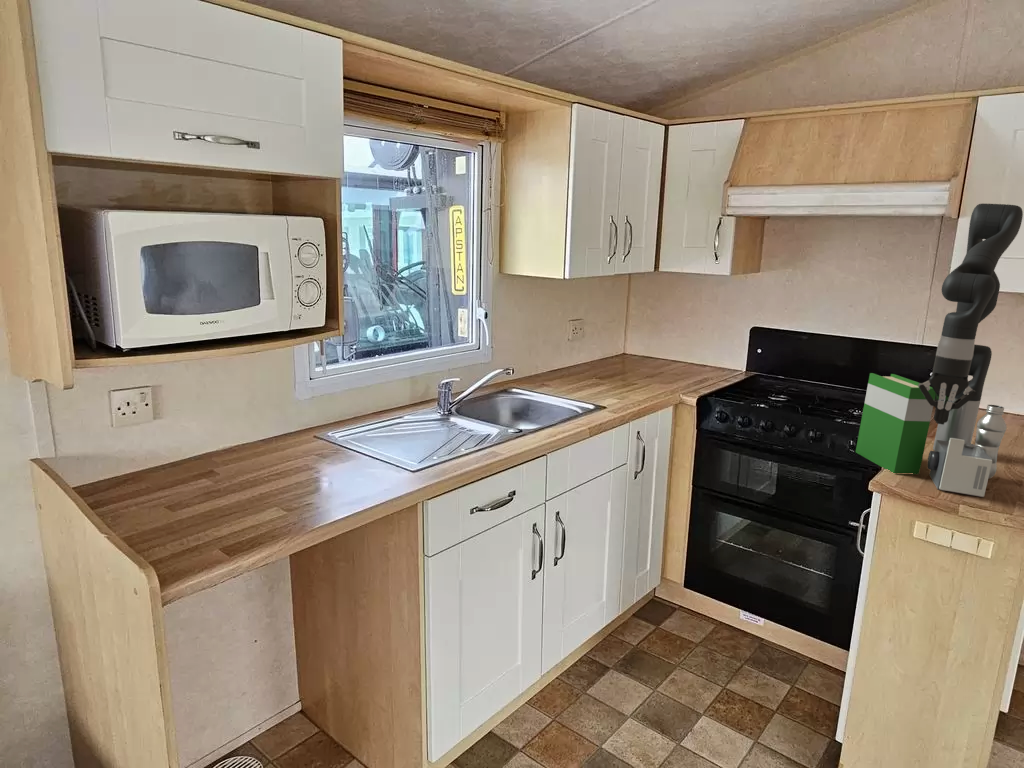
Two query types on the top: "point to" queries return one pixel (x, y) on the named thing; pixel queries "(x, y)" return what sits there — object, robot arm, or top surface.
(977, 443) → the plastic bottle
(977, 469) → the side door
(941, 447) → the camera housing
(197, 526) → the top surface
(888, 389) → the hardback book
